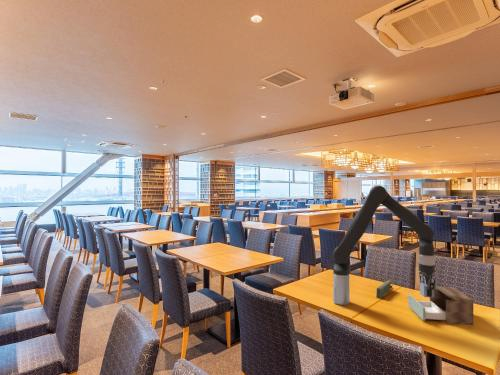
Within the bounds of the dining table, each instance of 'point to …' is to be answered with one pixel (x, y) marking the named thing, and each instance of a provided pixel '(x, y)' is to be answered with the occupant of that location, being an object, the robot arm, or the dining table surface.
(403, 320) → the dining table surface
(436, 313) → the tray
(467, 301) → the open wooden box
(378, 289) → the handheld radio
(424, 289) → the slate block
